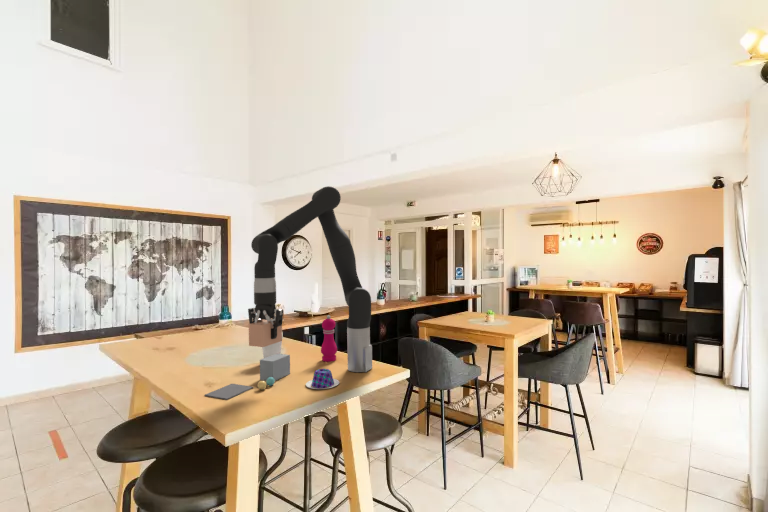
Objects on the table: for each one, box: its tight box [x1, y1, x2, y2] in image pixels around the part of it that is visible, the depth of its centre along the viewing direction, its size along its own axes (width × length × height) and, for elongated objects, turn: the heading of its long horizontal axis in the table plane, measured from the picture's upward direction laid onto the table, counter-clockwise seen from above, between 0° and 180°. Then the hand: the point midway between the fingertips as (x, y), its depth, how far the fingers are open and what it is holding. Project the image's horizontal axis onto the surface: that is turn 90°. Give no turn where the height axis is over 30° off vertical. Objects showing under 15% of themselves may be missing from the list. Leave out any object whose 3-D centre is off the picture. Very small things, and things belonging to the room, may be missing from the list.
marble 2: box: [265, 377, 276, 387], centre depth 136 cm, size 3×3×3 cm
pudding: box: [305, 368, 340, 390], centre depth 136 cm, size 12×12×5 cm
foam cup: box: [261, 331, 284, 359], centre depth 165 cm, size 10×9×13 cm
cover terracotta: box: [248, 319, 283, 348], centre depth 134 cm, size 6×10×8 cm, turn 157°
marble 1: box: [257, 380, 268, 391], centre depth 132 cm, size 3×3×3 cm
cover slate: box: [259, 353, 291, 382], centre depth 146 cm, size 6×10×8 cm, turn 157°
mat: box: [204, 383, 254, 401], centre depth 130 cm, size 10×12×1 cm
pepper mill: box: [320, 314, 338, 363], centre depth 169 cm, size 7×7×20 cm
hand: (265, 337), depth 134 cm, fingers closed on cover terracotta, 6 cm apart
